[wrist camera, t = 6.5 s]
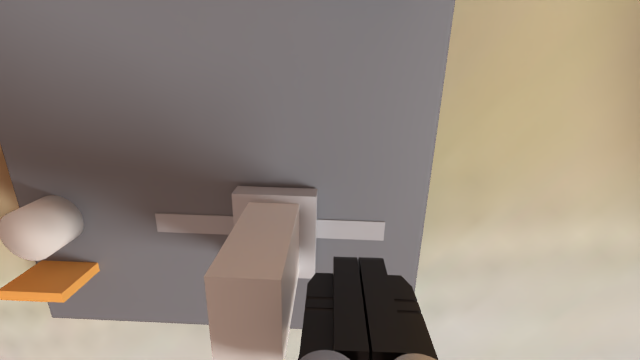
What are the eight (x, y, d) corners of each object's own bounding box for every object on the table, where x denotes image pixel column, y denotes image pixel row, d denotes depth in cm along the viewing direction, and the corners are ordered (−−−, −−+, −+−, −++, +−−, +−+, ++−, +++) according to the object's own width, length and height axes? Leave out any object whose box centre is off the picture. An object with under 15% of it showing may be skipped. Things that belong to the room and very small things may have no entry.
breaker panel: (468, -250, 10) (551, -439, 6) (400, 303, 17) (419, 373, 13) (-53, -249, 10) (-270, -424, 7) (83, 289, 17) (12, 353, 13)
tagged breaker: (317, 188, 13) (306, 269, 8) (315, 266, 14) (305, 381, 9) (237, 185, 13) (176, 264, 8) (242, 263, 14) (191, 375, 9)
